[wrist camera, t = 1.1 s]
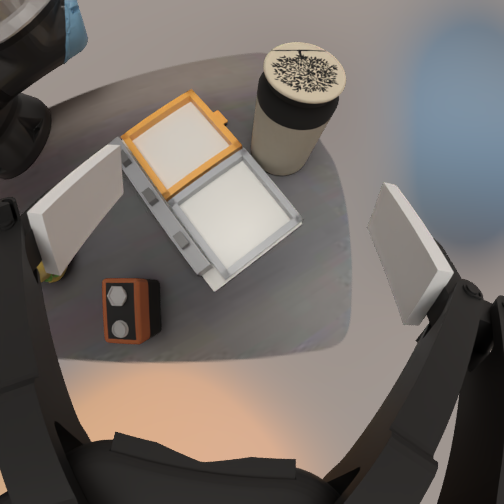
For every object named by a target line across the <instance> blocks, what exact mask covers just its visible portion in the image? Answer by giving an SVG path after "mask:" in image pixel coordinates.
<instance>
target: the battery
mask: <svg viewBox="0 0 504 504" xmlns="http://www.w3.org/2000/svg"><path fill="white" fill-rule="evenodd" d="M102 300H103V321H104V336H105V340H106V342H108V343H122V344H141V343H143V342H144V341H146V340H148V339H149V338H151V337H153V336H154V335H156V334H157V333H159V332H160V331H161V315H160V286H159V281H157V280H151V279H139V278H106V279H104V280H103V281H102Z"/></svg>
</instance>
